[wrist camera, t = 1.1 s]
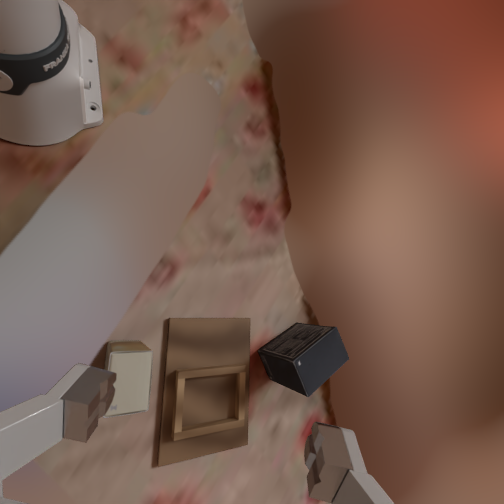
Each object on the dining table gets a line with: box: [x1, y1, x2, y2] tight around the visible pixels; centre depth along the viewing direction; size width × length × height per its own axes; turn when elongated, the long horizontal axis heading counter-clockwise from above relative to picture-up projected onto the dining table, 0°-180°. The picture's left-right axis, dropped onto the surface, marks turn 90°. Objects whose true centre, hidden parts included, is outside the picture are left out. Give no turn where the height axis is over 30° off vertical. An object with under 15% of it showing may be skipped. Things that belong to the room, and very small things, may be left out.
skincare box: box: [103, 340, 153, 418], centre depth 33 cm, size 6×4×12 cm
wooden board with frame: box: [157, 318, 250, 467], centre depth 42 cm, size 20×14×2 cm
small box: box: [258, 323, 349, 397], centre depth 47 cm, size 11×6×10 cm, turn 117°
